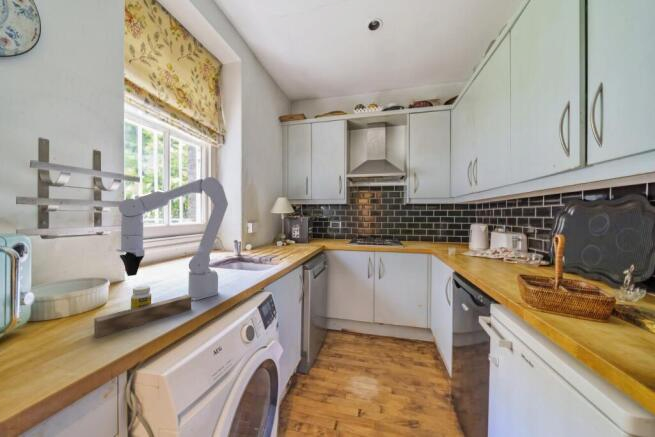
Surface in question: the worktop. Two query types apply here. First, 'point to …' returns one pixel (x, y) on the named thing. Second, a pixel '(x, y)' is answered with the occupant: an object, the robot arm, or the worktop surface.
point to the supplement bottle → (140, 296)
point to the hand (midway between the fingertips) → (131, 275)
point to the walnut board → (140, 315)
